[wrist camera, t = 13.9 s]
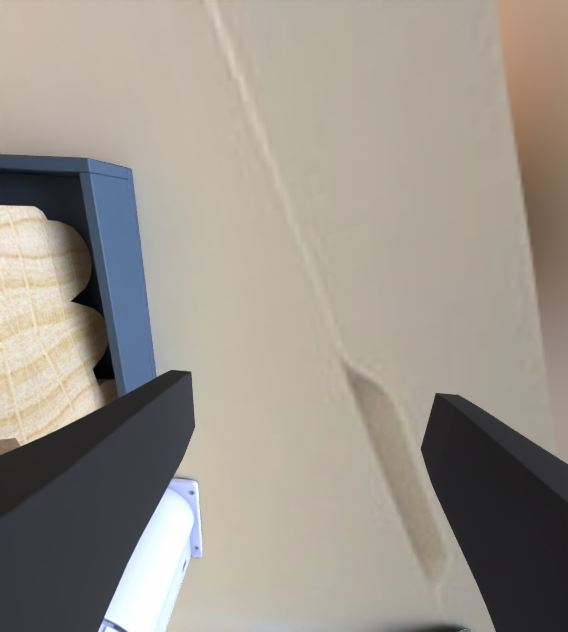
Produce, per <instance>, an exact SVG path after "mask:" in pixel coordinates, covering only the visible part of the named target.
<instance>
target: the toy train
mask: <svg viewBox="0 0 568 632" xmlns="http://www.w3.org/2000/svg"><path fill="white" fill-rule="evenodd" d="M91 268H92V261H91V256H90V252H89V249H88V247H87V245H86V243H85V241H84V240H83V238H82V237H81V236H80V234H79V233H78V232H77V231H76V230H75V229H74V228H73V227H71V226H69V225H67V224H64V223H62V222H60V221H51V220H47V218H46V216H45V215H44V213H43V212H42V211H41V210H39V209H38V208H36V207H35V206H4V205H0V455H2V454H4V453H6V452H9V451H11V450H13V449H16V448H18V447H20V446H23V445H25V444H27V443H30V442H32V441H34V440H36V439H38V438H41V437H43V436H45V435H47V434H49V433H51V432H54V431H56V430H58V429H60V428H62V427H64V426H66V425H68V424H70V423H72V422H74V421H76V420H78V419H80V418H82V417H84V416H86V415H88V414H90V413H92V412H94V411H96V410H97V409H99V408H101V407H103V406H105V405H107V404H109V403H111V402H113V401H114V400H116V399H118V392H117V386H116V381H115V379H96V377H95V375H94V372H93V368H94V366H95V365H96V364H97V363H98V361H99V360H100V359H101V358H102V356H103V355H104V353H105V350H106V347H107V345H108V335H107V329H106V324H105V320H104V318H103V316H102V315H101V314H100V313H98V312H97V311H96V310H95V309H93V308H91V307H87V306H84V305H81V304H77V303H74V302H71V300H73V299H74V298H75V297H76V296H77V295H78V294H79V293H80V292H81V291H83V290H84V289H85V288H86V286H87V284H88V281H89V279H90V277H91Z"/></svg>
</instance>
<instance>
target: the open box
mask: <svg viewBox="0 0 568 632" xmlns="http://www.w3.org/2000/svg"><path fill="white" fill-rule="evenodd" d="M0 205H4V206H35V207H36V208H38V209H39V210H41V211H42V212H43V213H44V215H45V216H46V218H47V220H51V221H60V222H62V223H64V224H67V225H69V226H71V227H73V228H74V229H75V230H76V231H77V232H78V233H79V234H80V236H81V237H82V238H83V240H84V241H85V243H86V245H87V247H88V249H89V252H90V256H91V261H92V268H91V277H90V279H89V281H88V284H87V286H86V288H85V289H84V290H83V291H81V292H80V293H79V294H78V295H77V296H76V297H75V298H74V299H73V300H71V302H74V303H77V304H81V305H84V306H87V307H91V308H93V309H95V310H96V311H97V312H98V313H100V314H101V315H102V316H103V318H104V320H105V324H106V329H107V335H108V345H107V347H106V350H105V353H104V355H103V356H102V358H101V359H100V360H99V361H98V363H97V364H96V365H95V366H94V368H93V372H94V375H95V377H96V379H115V381H116V386H117V392H118V398H120V397H122V396H124V395H125V394H127V393H129V392H131V391H133V390H135V389H136V388H138V387H140V386H142V385H144V384H145V383H147V382H149V381H151V380H153V379H155V378H156V371H155V362H154V354H153V345H152V337H151V329H150V320H149V312H148V303H147V295H146V287H145V278H144V270H143V261H142V253H141V245H140V236H139V228H138V219H137V211H136V203H135V194H134V186H133V177H132V170H131V169H130V168H125V167H122V166H118V165H114V164H110V163H105V162H101V161H97V160H93V159H89V158H74V157H51V156H28V155H5V154H0Z"/></svg>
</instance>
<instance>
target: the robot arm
mask: <svg viewBox="0 0 568 632" xmlns="http://www.w3.org/2000/svg"><path fill="white" fill-rule="evenodd" d="M194 428H195V419H194V405H193V391H192V377H191V372H188V371H176V370H171V371H168V372H166V373H164V374H162V375H160V376H158V377H156V378H155V379H153V380H151V381H149V382H147V383H145V384H144V385H142V386H140V387H138V388H136V389H135V390H133V391H131V392H129V393H127V394H125V395H124V396H122V397H120V398H118V399H116V400H114V401H113V402H111V403H109V404H107V405H105V406H103V407H101V408H99V409H97V410H96V411H94V412H92V413H90V414H88V415H86V416H84V417H82V418H80V419H78V420H76V421H74V422H72V423H70V424H68V425H66V426H64V427H62V428H60V429H58V430H56V431H54V432H51V433H49V434H47V435H45V436H43V437H41V438H38V439H36V440H34V441H32V442H30V443H27V444H25V445H23V446H20V447H18V448H16V449H13V450H11V451H9V452H6V453H4V454H2V455H0V632H165V630H166V628H167V625H168V622H169V619H170V616H171V613H172V610H173V607H174V604H175V601H176V598H177V595H178V592H179V589H180V587H181V584H182V581H183V578H184V575H185V572H186V569H187V566H188V563H189V560H190V557H191V558H200V557H201V556H202V553H203V548H202V534H201V520H200V506H199V492H198V484H197V482H195V481H193V480H185V479H176V478H173V476H174V474H175V472H176V471H177V469H178V467H179V465H180V463H181V461H182V459H183V457H184V454H185V452H186V449H187V447H188V444H189V442H190V439H191V436H192V433H193V431H194ZM421 451H422V455H423V458H424V461H425V465H426V468H427V471H428V474H429V477H430V480H431V483H432V486H433V488H434V490H435V493H436V495H437V497H438V499H439V502H440V504H441V506H442V508H443V511H444V513H445V515H446V517H447V519H448V522H449V524H450V526H451V528H452V530H453V532H454V535H455V537H456V539H457V541H458V543H459V546H460V548H461V550H462V552H463V554H464V556H465V559H466V561H467V563H468V565H469V567H470V570H471V572H472V574H473V576H474V578H475V580H476V583H477V585H478V587H479V590H480V592H481V594H482V597H483V599H484V602H485V604H486V606H487V609H488V611H489V614H490V617H491V620H492V622H493V625H494V628H495V630H496V632H568V464H567V463H565V462H563V461H562V460H560V459H559V458H557V457H555V456H554V455H552V454H551V453H549V452H547V451H546V450H544V449H543V448H541V447H540V446H538V445H537V444H535V443H533V442H532V441H530V440H529V439H527V438H526V437H524V436H523V435H521V434H520V433H518V432H517V431H515V430H513V429H512V428H510V427H509V426H507V425H506V424H504V423H503V422H501V421H500V420H498V419H497V418H495V417H494V416H492V415H490V414H489V413H487V412H486V411H484V410H483V409H481V408H480V407H478V406H476V405H475V404H473V403H471V402H470V401H468V400H466V399H465V398H463V397H461V396H459V395H452V394H441V393H436V395H435V399H434V402H433V406H432V410H431V413H430V417H429V421H428V424H427V428H426V432H425V435H424V439H423V443H422V446H421Z"/></svg>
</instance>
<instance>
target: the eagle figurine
mask: <svg viewBox="0 0 568 632" xmlns="http://www.w3.org/2000/svg"><path fill="white" fill-rule="evenodd" d="M458 632H472V630H470V631H469V630H468V629H463V630H459V631H458Z"/></svg>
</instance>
